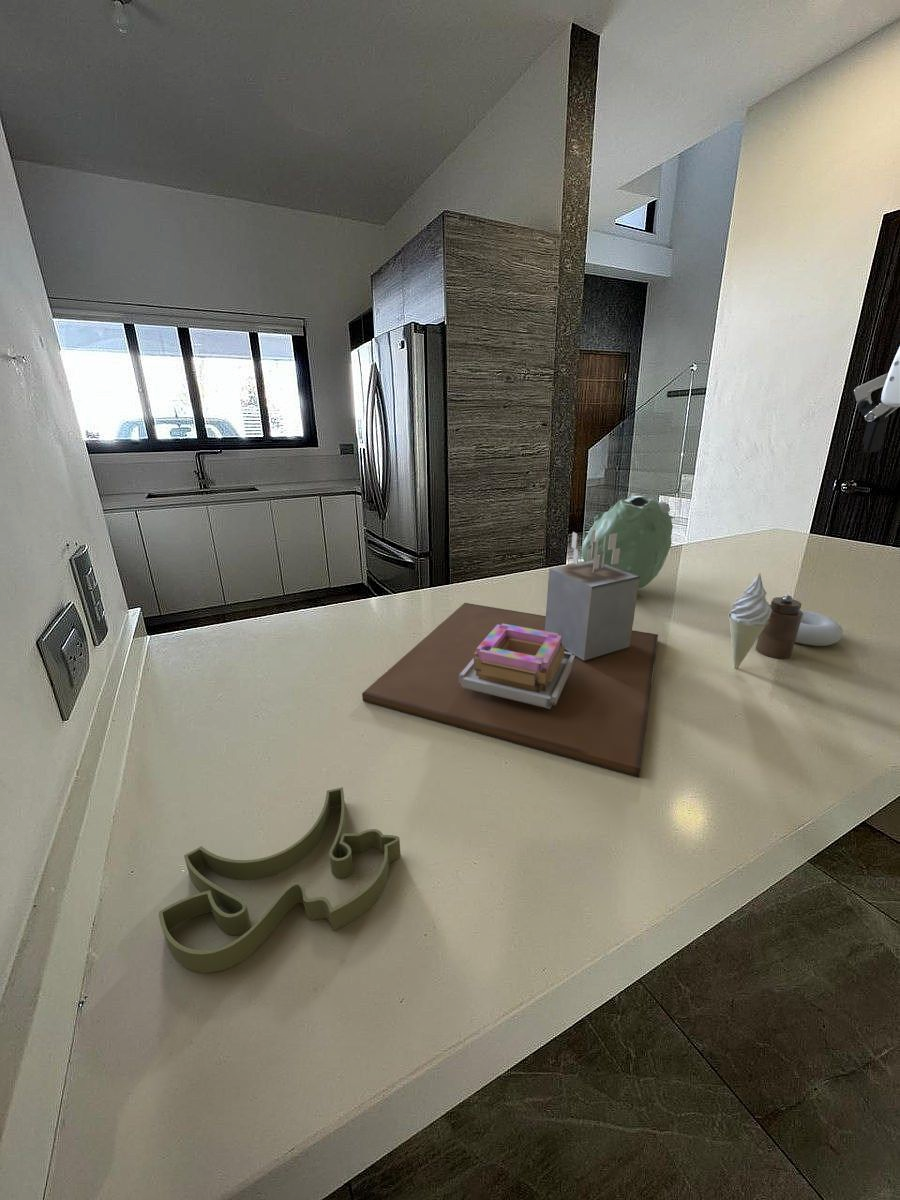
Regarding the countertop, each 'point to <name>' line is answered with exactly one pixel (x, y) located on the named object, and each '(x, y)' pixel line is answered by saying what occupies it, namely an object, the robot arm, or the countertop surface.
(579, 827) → the countertop surface
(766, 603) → the ice cream cone
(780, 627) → the pepper mill
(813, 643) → the donut
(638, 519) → the green ceramic vase
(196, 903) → the cookie cutter
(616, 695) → the brown serving board set
